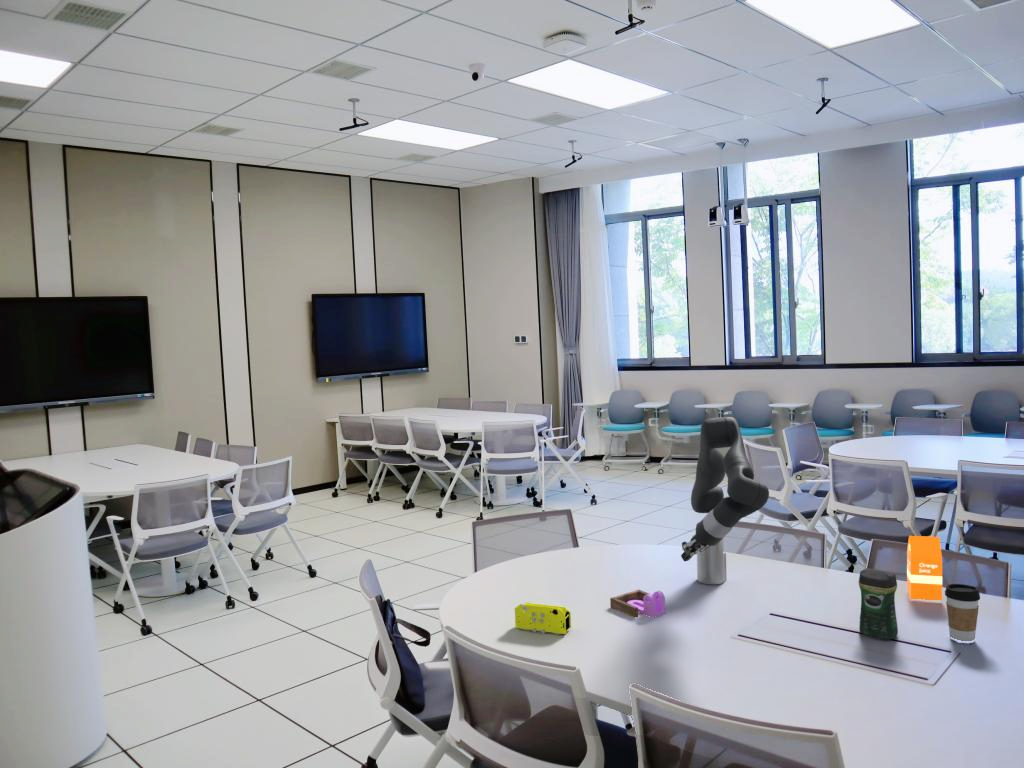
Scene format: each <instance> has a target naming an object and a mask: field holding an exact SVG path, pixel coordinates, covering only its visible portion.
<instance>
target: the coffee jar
mask: <svg viewBox="0 0 1024 768" xmlns="http://www.w3.org/2000/svg"><path fill="white" fill-rule="evenodd" d="M897 581H898V580H897V575H896V573H895V572H892V571H886V570H879V569H873V568H869V567H865V568H864V569H862V570H861V571H860V572H859V578H858V587H859V588H860V595H861V597H860V598H861V599H860V601H861V602H860V603H861V604H860V614H859V624H858V625H859V627H858V629H859V633H860V634H861V635H863V634H864V635H863V636H866V635H867V636H866V637H869V636H871V637H870V638H873V637H874V639H878V638H879V639H878V640H883V639H884V640H886V641H889V640H893V639H896V637H897V636H898V634H899V633H898V632H899V629H898V620H897V619H898V618H897V611H896V603H895V602H896V601H895V595H896V591H897V589H898V582H897Z"/></svg>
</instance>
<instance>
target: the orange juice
mask: <svg viewBox="0 0 1024 768" xmlns="http://www.w3.org/2000/svg"><path fill="white" fill-rule="evenodd" d="M906 557H907V558H906V592H907V591H908V593H909V595H910V598H911V599H922V600H923V599H925V600H942V601H943V554H942V546H941V538H940V536H927V535H926V536H923V535H909V536H908V542H907V549H906ZM910 598H909V599H910Z"/></svg>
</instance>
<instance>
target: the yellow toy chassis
mask: <svg viewBox="0 0 1024 768" xmlns="http://www.w3.org/2000/svg"><path fill="white" fill-rule="evenodd" d="M571 614H572V612H571V611H570V610H569V609H568V608H566V607H565V606H559V605H549V604H540V603H534V602H533V603H532V602H525V603H524V604H523V603H520V604H518V605H517V606H516V607H515V608H514V619H515V620H514V621H515V622H514V623H515V628H516V629H522V630H523V629H524V630H523V631H525V630H530V631H532V632H533V633H536V632H540V633H541V634H545V633H552V634H554V635H558V636H559V634H560V635H566V634H567V632H568V631H569V630H570V629H572V619H571V617H572V616H571Z"/></svg>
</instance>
